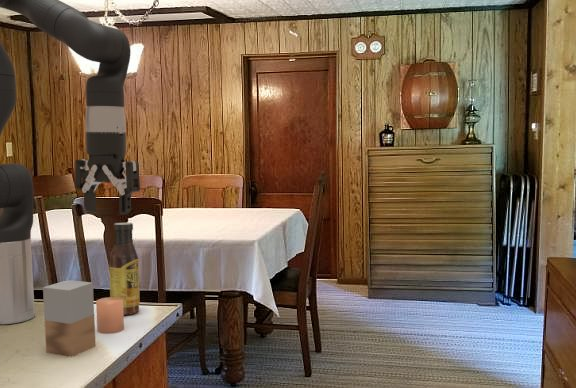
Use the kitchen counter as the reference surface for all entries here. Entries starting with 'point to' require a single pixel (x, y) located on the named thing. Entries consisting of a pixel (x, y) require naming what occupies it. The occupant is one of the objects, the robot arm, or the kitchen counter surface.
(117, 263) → the sauce bottle
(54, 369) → the kitchen counter surface
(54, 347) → the walnut block
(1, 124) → the robot arm
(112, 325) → the clay cylinder
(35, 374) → the kitchen counter surface
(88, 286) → the slate block
